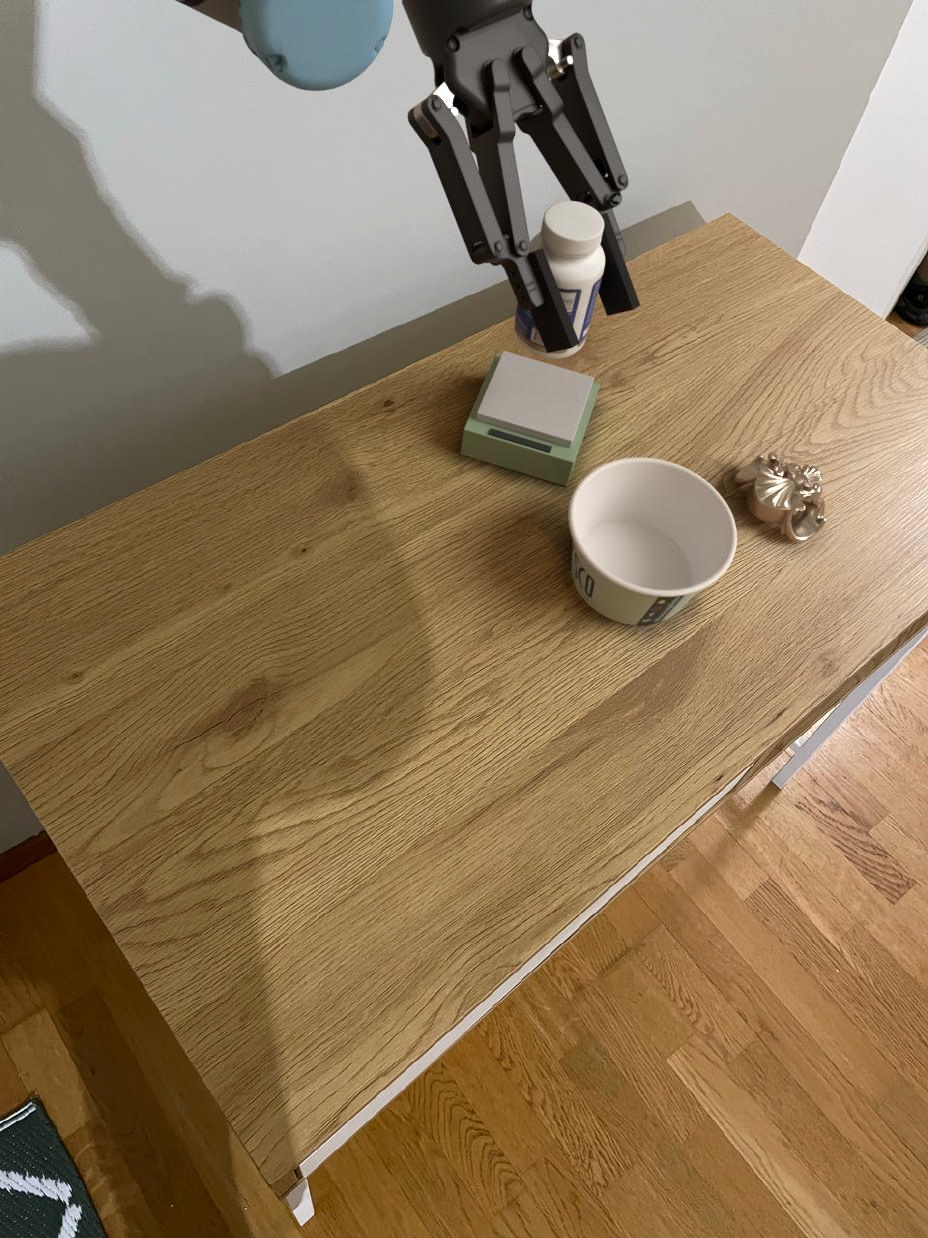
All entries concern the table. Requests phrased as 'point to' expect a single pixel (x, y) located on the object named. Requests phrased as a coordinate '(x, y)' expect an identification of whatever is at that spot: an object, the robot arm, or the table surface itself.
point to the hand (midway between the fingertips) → (593, 328)
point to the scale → (530, 417)
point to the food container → (647, 538)
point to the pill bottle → (567, 270)
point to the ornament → (784, 495)
